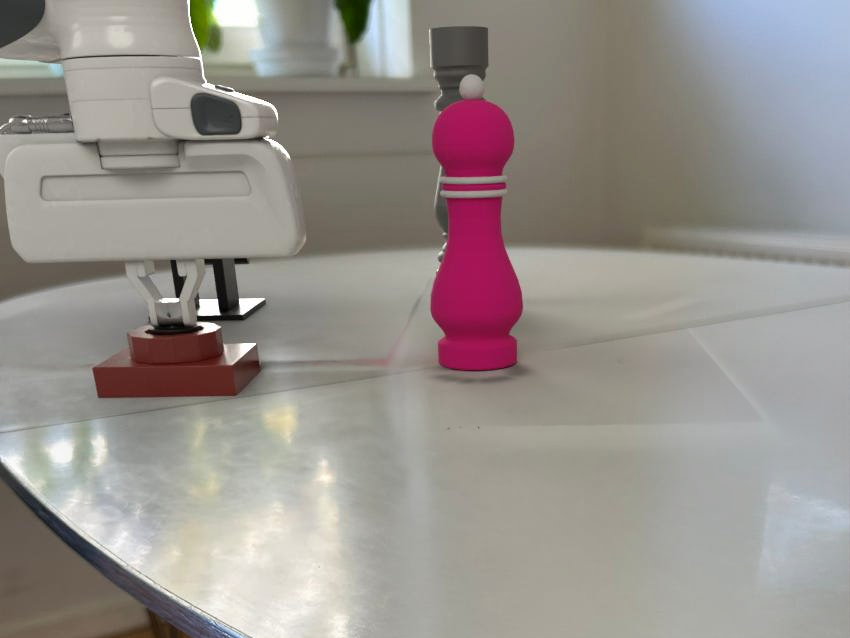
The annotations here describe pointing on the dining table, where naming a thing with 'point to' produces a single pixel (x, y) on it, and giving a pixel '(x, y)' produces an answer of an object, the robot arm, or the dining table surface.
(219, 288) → the bracket
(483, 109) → the pepper mill
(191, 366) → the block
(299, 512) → the dining table surface
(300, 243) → the robot arm
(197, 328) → the black push button
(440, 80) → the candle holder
